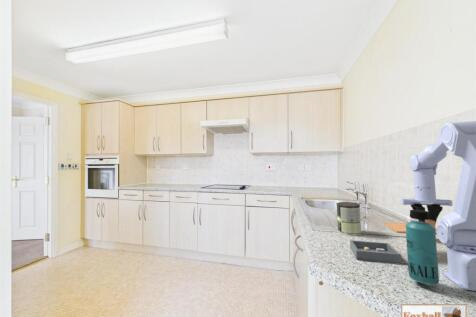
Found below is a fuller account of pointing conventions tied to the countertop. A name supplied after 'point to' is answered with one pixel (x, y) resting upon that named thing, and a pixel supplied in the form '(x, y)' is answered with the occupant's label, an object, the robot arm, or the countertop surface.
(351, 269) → the countertop surface
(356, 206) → the coffee can
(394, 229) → the tub lid
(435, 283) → the beverage bottle
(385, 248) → the parts tub
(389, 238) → the countertop surface
